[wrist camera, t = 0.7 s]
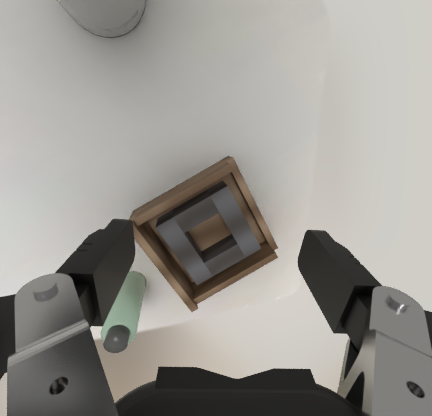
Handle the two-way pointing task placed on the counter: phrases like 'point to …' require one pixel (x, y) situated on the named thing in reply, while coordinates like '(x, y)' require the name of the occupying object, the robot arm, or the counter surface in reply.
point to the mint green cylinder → (124, 314)
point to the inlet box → (205, 233)
